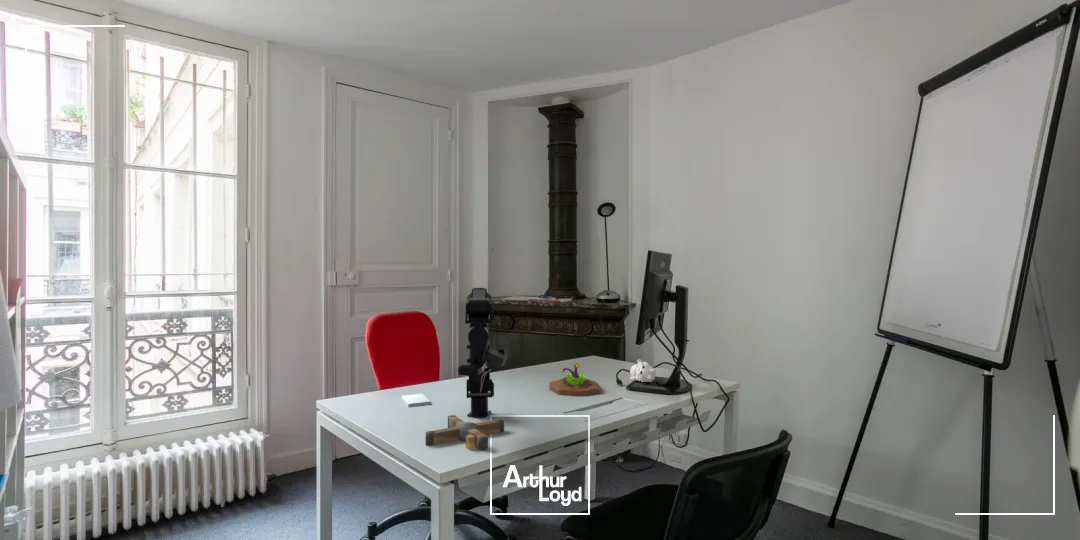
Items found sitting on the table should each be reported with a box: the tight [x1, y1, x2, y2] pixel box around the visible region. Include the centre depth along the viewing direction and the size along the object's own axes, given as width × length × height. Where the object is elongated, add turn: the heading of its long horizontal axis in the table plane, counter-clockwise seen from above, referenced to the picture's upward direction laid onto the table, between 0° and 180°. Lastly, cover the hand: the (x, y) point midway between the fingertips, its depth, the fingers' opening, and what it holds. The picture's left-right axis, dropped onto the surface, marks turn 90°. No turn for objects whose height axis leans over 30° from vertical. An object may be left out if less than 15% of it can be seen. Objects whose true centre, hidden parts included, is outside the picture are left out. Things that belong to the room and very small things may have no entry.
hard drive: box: [400, 393, 432, 408], centre depth 201 cm, size 2×8×12 cm
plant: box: [548, 362, 601, 397], centre depth 218 cm, size 20×20×11 cm
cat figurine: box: [629, 358, 657, 383], centre depth 231 cm, size 10×8×15 cm
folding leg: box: [468, 429, 489, 451], centre depth 156 cm, size 9×3×3 cm, turn 33°
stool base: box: [425, 414, 505, 451], centre depth 163 cm, size 22×25×4 cm
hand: (478, 392), depth 166 cm, fingers closed
